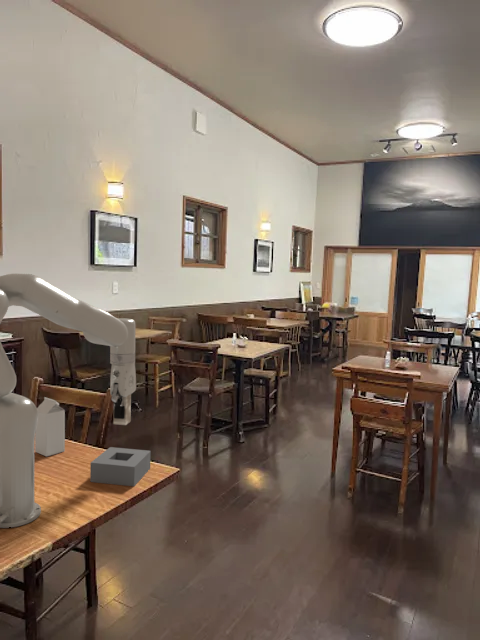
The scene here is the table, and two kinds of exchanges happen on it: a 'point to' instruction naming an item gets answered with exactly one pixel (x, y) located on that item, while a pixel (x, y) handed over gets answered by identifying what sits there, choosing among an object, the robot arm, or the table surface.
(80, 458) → the table surface
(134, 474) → the socket block
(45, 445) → the milk carton
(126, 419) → the peg
